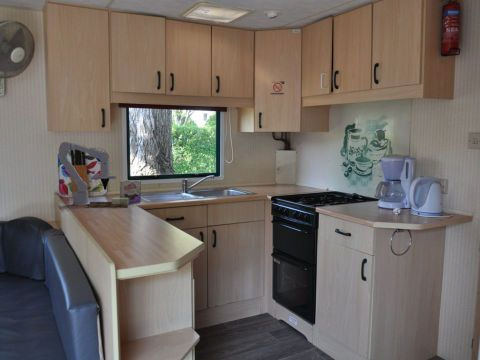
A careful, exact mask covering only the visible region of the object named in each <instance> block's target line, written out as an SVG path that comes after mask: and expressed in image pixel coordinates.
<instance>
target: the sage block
mask: <svg viewBox="0 0 480 360" xmlns="http://www.w3.org/2000/svg"><path fill="white" fill-rule="evenodd" d="M119 198H120V197H119ZM120 204H128V198H120Z"/></svg>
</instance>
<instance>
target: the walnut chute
mask: <svg viewBox="0 0 480 360" xmlns="http://www.w3.org/2000/svg"><path fill="white" fill-rule="evenodd" d="M129 206H130V202H128V204H112V201H89V203H87V205H86V207H87V208H129Z"/></svg>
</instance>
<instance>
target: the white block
mask: <svg viewBox="0 0 480 360" xmlns="http://www.w3.org/2000/svg"><path fill="white" fill-rule="evenodd" d="M111 202H112V204H120V197H112V198H111Z"/></svg>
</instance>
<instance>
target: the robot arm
mask: <svg viewBox="0 0 480 360" xmlns="http://www.w3.org/2000/svg"><path fill="white" fill-rule="evenodd" d="M70 150H71V151H73V150H74V151H75V150H76V151H80V152H83V153H87V155H88V156H89V157H92V158H96V159H98V160H99V159H100V163H99V165H100V166H99V168H100V173H99V174H100V175H93V180H100V182H101V184H102V186H103V187H102V188H103V190H104V191H106V190H108V189H107V187H108V184H109V182H110V180H116V179H117V176H116V175H110V160H109V159H110V155H109V153H108V152H106V151H104V150H102V149H97V148H96V147H91V148H89V147H87V146H86V147H85V146H83V145H80V144H78V143H74V142H69V141H63V142H61V143H60V145H59V147H58V160H59V161H60V162H61V164H62V165H63V167H64V168H65V170H66V171H67V172H68V174H69V176H70V177H71V179H72V180H73V182H74V183H75V185H76V189H77V190H76V191H74V192H73V193H72V204H74V205H77V204H78V205H86V204H89V191H88V183H87V182H86V181H84V180H83V178H81V176H80V175H79V173H78V171H77V170H76V169H75V167H74V165H73V164H72V163H71V161H70V160H69V158H68V155H69V152H70Z"/></svg>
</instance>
